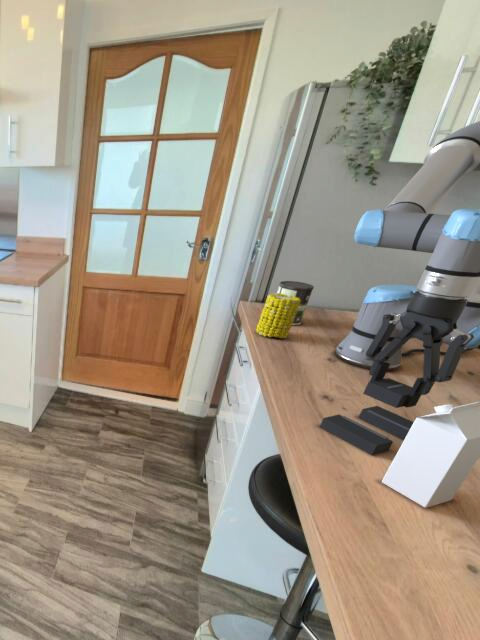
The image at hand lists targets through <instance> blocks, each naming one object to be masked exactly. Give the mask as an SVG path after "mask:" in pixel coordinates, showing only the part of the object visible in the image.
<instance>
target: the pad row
mask: <svg viewBox="0 0 480 640" xmlns="http://www.w3.org/2000/svg"><path fill="white" fill-rule="evenodd" d="M358 419H359V420H362V421H364V422H366V423H368V424H370V425H372V426H374V427H377V428H378V429H381V430H383V431H384V432H387V433H389V434H391V435H393V436H395V437H397V438H399V439H401V440H403V441H404V439H405V438H406V436H407V434H408V432H409V430H410V428H411V427H412V425H413V423H414V421H412V420H410V419H408V418H405V417H403V416H401V415H399V414H397V413H394V412H392V411H390V410H388V409H386V408H384V407H381V406H378V405H375V406H370V407H365V408H362V409H361V412H360V413H359V415H358ZM319 428H321V429H322V430H325V431H326V432H328V433H330V434H332V435H333V436H336V437H337V438H339V439H341V440H342V441H343V440H344V441H345V442H347V443H349V444H350V445H352V446H354V447H356V448H358V449H360V450H361V451H364V452H366V454H369V455H370V456H374V455H377V454H381V453H385V452H389V450H390V448H391V446H392V444H393V443H394V440H392V439H389V438H388V437H387V436H386V435H383V434H381V433H379V432H377V431H376V430H373V429H371V428H369V427H368V426H365V425H363V424H362V423H359V422H358V421H355V420H353V419H351V418H349V417H347V416H345V415H342V414H334V415H330V416H327V417H323V418H322V421H321V423H320V425H319Z"/></svg>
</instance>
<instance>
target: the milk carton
mask: <svg viewBox="0 0 480 640" xmlns="http://www.w3.org/2000/svg"><path fill="white" fill-rule="evenodd" d="M479 406H480V401H475V402H470V403H467V404H463V405H457V406H454V407H453V404H451V403H450V404H449V403H448V404H442V405H437V406H434V408H433V409H434V411H435V412H433V413H430V414H425V415H421V416H417V417H416V418H415V419H414V421H413V422H414V423H413V425H412V427H411V428H410V430H409V432H408V434H407V436H406V438H405V439H404V440H403V441H402V443H401V445H400V447H399V449H398V450H397V453H396V454H395V456H394V458H393V460H392V462H391V464H390V465H389V467H388V469H387V471H386V472H385V475H384V476H383V478H382V480H381V483H382V484H384V485H385V486H387V487H389V488H391V489H392V490H394V491H395V492H397V493H399V494H401V495H402V496H404V497H406V498H407V499H409V500H411V501H413V502H414V503H416V504H417V505H419V506H421V507H422V508H425V509H426V508H430V507H434V506H437V505H439V504H440V505H441V504H443V503H446V502H450V501H452V500H453V499H454V497H455V495H456V494H457V492H458V491H459V489H460V487H462V485H463V483H464V481H465V480H466V478H467V477H468V476H469V474H470V472H471V470H472V469H473V468H474V466H475V464H477V462H478V460H479V458H480V408H479Z"/></svg>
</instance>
